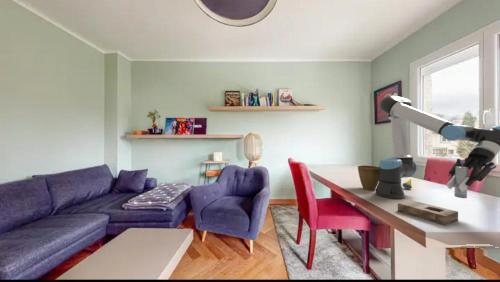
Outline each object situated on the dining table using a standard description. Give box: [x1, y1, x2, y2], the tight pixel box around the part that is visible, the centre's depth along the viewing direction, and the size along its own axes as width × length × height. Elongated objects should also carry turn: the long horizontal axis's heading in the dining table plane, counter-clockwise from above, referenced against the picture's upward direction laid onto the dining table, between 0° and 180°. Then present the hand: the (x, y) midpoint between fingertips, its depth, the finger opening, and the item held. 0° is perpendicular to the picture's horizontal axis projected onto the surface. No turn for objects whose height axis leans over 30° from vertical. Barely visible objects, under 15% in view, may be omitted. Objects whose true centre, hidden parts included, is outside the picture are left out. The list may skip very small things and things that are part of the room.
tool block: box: [397, 199, 459, 226], centre depth 93 cm, size 18×12×4 cm, turn 25°
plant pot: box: [357, 164, 379, 191], centre depth 141 cm, size 15×15×16 cm
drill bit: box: [402, 178, 413, 191], centre depth 143 cm, size 5×5×10 cm
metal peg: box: [454, 166, 469, 199], centre depth 92 cm, size 4×4×14 cm
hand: (454, 188), depth 91 cm, fingers closed on metal peg, 4 cm apart
